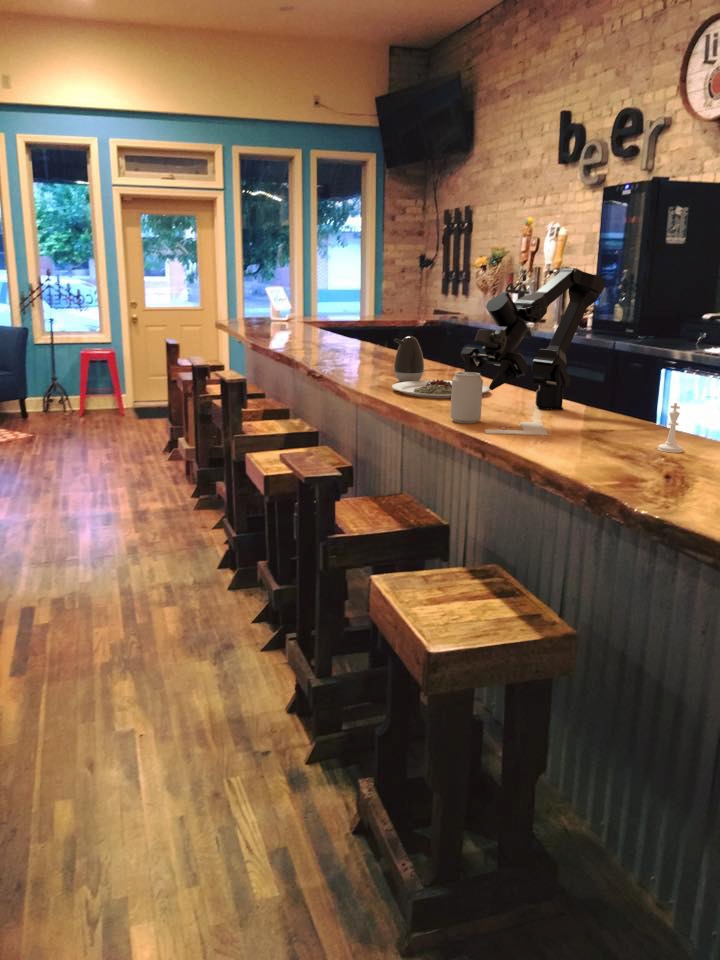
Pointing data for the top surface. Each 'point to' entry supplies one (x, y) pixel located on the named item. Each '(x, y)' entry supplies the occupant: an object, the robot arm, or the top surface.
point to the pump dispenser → (408, 360)
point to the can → (466, 397)
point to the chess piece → (672, 433)
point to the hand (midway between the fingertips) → (476, 386)
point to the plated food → (429, 388)
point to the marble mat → (527, 428)
